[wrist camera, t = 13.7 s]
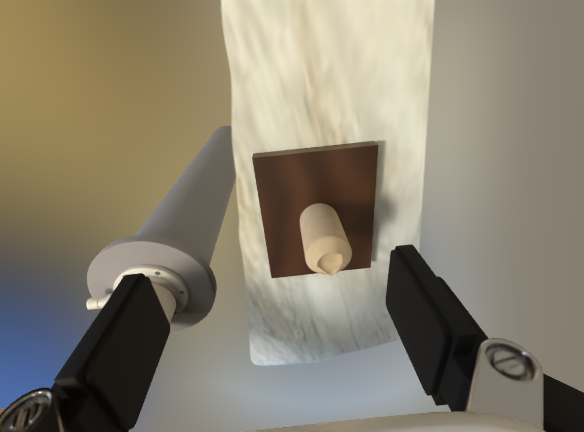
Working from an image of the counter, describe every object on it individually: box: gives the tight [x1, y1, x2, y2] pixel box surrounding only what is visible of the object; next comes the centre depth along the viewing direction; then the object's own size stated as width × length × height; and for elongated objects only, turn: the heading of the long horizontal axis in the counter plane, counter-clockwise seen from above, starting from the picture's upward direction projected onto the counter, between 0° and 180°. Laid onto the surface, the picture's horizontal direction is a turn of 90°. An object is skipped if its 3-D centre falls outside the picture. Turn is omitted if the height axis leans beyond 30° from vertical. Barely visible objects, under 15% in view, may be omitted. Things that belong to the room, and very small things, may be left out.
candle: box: [300, 203, 352, 275], centre depth 36 cm, size 6×6×10 cm
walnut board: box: [252, 141, 378, 278], centre depth 41 cm, size 16×20×2 cm
